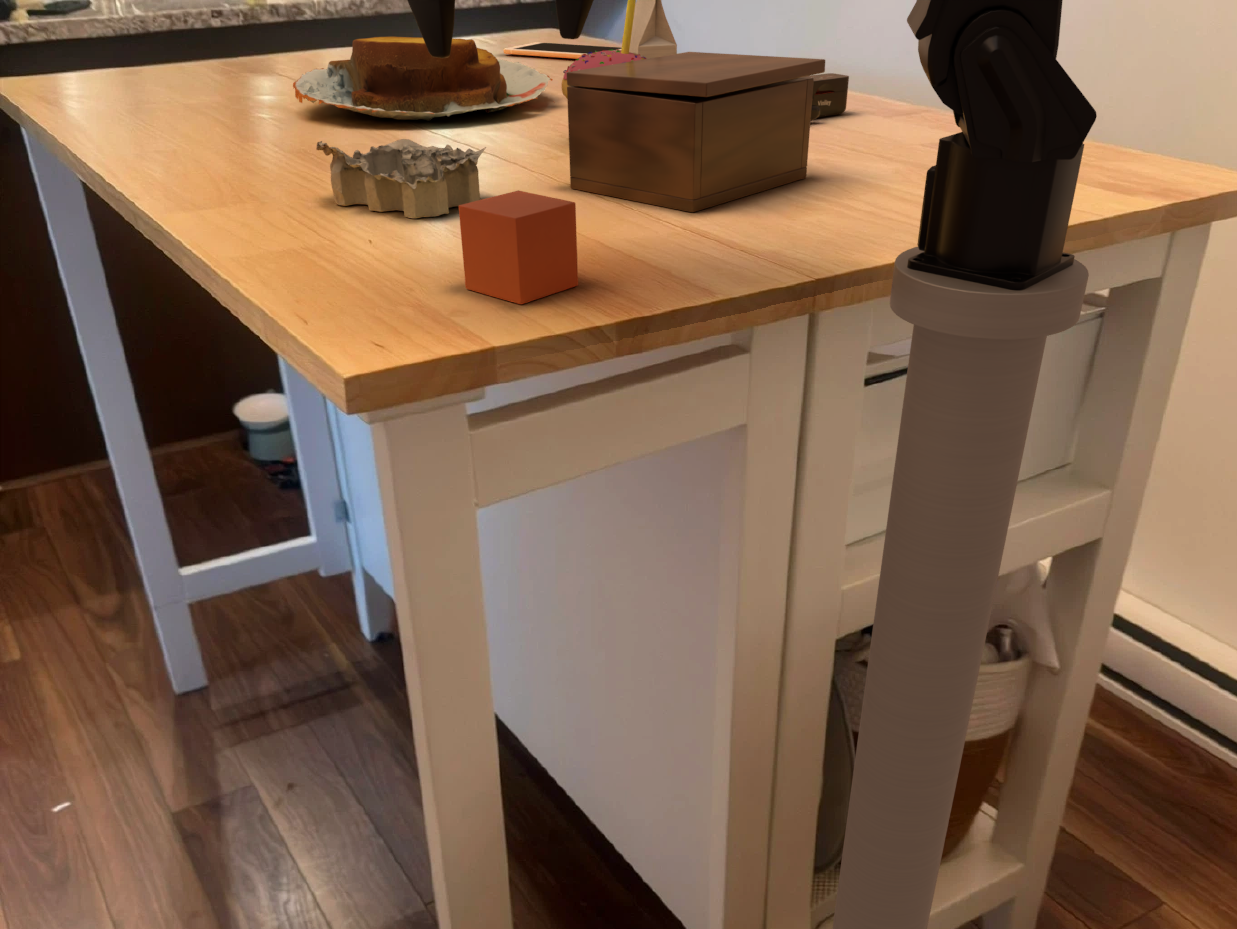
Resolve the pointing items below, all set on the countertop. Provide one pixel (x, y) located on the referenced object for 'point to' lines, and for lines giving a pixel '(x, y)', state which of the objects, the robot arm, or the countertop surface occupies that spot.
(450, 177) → the egg carton
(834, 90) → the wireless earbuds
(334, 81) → the food on plate
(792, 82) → the chest
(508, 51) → the cell phone
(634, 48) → the tea bag
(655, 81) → the lid
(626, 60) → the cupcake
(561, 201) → the block
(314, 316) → the countertop surface
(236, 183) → the countertop surface
